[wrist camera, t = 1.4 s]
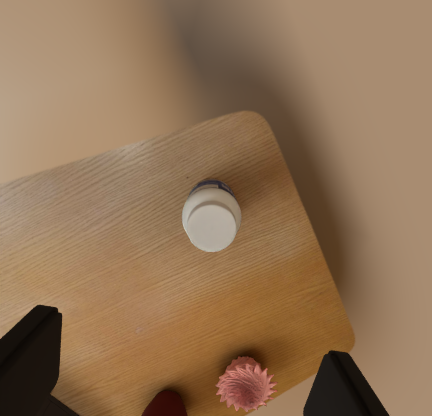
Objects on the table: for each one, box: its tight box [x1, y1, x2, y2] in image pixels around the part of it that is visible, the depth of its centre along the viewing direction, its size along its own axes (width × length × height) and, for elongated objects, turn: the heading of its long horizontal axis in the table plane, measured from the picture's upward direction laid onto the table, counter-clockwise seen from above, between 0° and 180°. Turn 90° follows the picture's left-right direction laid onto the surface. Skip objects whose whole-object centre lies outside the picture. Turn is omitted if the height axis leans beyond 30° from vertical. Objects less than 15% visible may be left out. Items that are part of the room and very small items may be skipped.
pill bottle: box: [182, 179, 241, 252], centre depth 24 cm, size 5×5×10 cm
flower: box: [216, 356, 278, 412], centre depth 32 cm, size 8×8×6 cm
